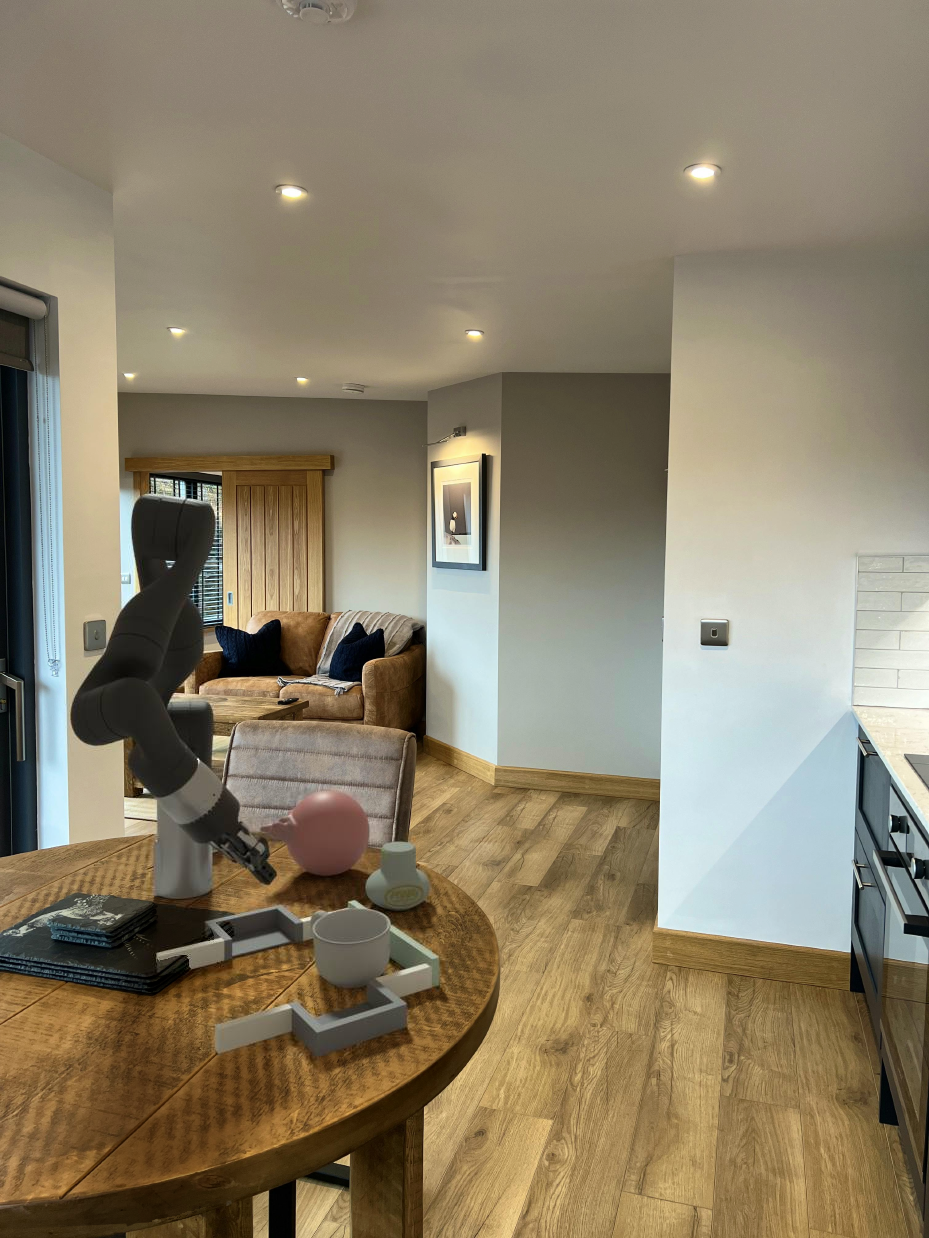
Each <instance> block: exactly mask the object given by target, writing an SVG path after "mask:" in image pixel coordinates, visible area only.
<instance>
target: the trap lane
mask: <svg viewBox="0 0 929 1238" xmlns="http://www.w3.org/2000/svg"><path fill="white" fill-rule="evenodd" d="M353 908H363V909H368V908H367V907H365V906H364V905H362V904H361V903H360V902H358V901H357V900H350V901H347V908H342V909H337V910H334V911H329V912H327V913H328V914H329V913H332V912H336V911H339V910H344V909H353ZM311 917H312V916H308V917H303V918H299V917H297V916H296V915H295V914H294V913H292V912H291V911H290V910H288V908H286V907H285V906H284V905H283V904H277V905H274V906H269V907H265V908H260V909H255V910H254V909H253V910H249V911H245V912H242V913H241V912H240V913H237V914H233V915H227V916H224V917H220V918H218V917H217V918H213V919H210V920H205V921H204V924H205V923H206V924H207V925H208V926H209V927H210V928H211V929H212V931H213V934H214V940H210V941H202V942H197V943H193V944H190V945H186V946H181V947H177V948H173V949H168V950H163V951H160V952H156V960H157V959H158V960H159V961H160V960H164V959H168V958H171V957H174V956H179V955H187V956H188V957H187V958H188V959H189V967H190V968H191V969H190V970H193V969H197V968H201V967H205V966H210V965H214V964H217V962H218V963H221V961H222V962H226V961H229V959H230V960H233V958H234V959H235V958H237V957H241V956H245V955H249V954H254V953H257V952H261V951H266V950H270V949H273V948H278V947H281V946H282V947H283V946H286V945H289V944H293V943H296V944H297V943H301V942H304V941H309V940H312V939H313V940H314V935H313V932H312V929H311ZM223 921H226V922H227V921H228V922H230V923H231V924H232V925H231V926H233V927H232V928H234V934H235V936H234V937H233V938H231V937H230V936H229V935H228V934H227V933H226V932H225V931H224V930H223V929H222V928H221V927H220V926H219V925H218V924H216V923H217V922H218V923H219V922H223ZM389 958H391V959H392V960H394V961H395V962H396V963H397V964H399V965H400V966H401V967H403V968H404V969H402V970H398V971H395V972H391V973H388V974H385V975H382V976H381V975H380V976H379V977H377V978H374V979H371V980H367V985H366V1001H364V1002H360V1003H358V1004H356V1005H351V1006H348V1007H345V1008H342V1009H339V1010H335V1011H332V1012H327V1013H326V1014H322V1015H319V1016H316V1017H314V1016H313V1015H312V1014H310V1012H308V1010H307V1009H305V1008H304V1007H303V1006H302V1004H300V1003H299V1002H298V1001H297V1000H296V1001H292V1002H288V1003H286V1004H282V1005H278V1006H276V1007H272V1008H269V1009H264V1010H262V1011H258V1012H254V1013H252V1014H249V1015H245V1016H241V1017H238V1018H237V1017H236V1018H234V1019H231V1020H228V1021H224V1022H221V1023H217V1024H215V1025H214V1050H215V1051H216V1053H217V1054H218V1055H219V1054H223V1053H226V1052H230V1051H233V1050H236V1049H240V1048H242V1047H246V1046H249V1045H252V1044H256V1043H258V1042H261V1041H266V1040H268V1039H271V1038H274V1037H277V1036H281V1035H284V1034H287V1033H291V1032H292V1033H293V1034H294V1036H295V1037H297V1039H299V1040H300V1041H301V1042H302V1044H303V1045H304V1046H306V1048H307V1049H308V1050H309V1051H310V1052H311V1053H312V1054H313V1055H314V1056H315V1057H316V1058H319V1057H322V1056H325V1055H328V1054H330V1053H335V1052H337V1051H340V1050H343V1049H345V1048H349V1047H353V1046H354V1045H358V1044H361V1043H364V1042H366V1041H369V1040H373V1039H375V1038H378V1037H381V1036H384V1035H387V1034H390V1033H393V1032H396V1031H400V1030H403V1029H406V1028H408V1026H407V1025H408V1003H407V1002H406V1001H404V1000H403V999H401V998H403V997H405V996H409V995H413V994H415V993H419V992H421V991H424V990H428V989H431V988H434V987H439V986H440V956H439V955H437V954H436V953H434V952H433V951H432V950H430V949H428V948H426V946H424V945H422V944H421V943H420V942H418V941H416V940H414V939H413V938H412V937H410V936H409V935H407V934H405V933H404V932H403V931H401V930H400V929H398V928H397V927H395V926H394V925H392V924H391V927H390V957H389Z"/></svg>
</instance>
